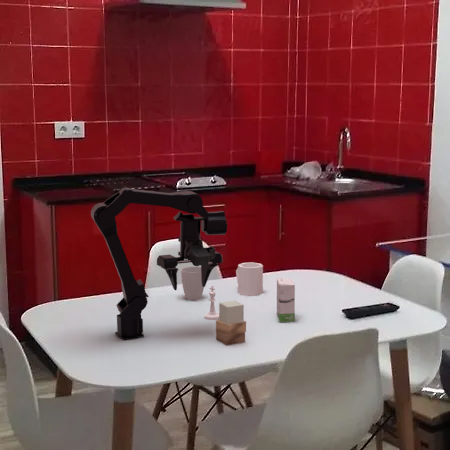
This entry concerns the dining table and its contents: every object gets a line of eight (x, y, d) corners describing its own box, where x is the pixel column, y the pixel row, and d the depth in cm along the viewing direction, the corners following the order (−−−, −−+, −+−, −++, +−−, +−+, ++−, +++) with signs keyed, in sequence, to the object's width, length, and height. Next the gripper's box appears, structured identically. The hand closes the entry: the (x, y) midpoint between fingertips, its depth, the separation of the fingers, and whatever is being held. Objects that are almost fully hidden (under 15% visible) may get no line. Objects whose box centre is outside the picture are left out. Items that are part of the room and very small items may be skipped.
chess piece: (211, 314, 238) (211, 283, 237) (223, 317, 235) (223, 285, 233) (201, 317, 235) (201, 286, 233) (213, 320, 232) (213, 289, 230)
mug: (267, 293, 262) (267, 265, 260) (247, 297, 257) (247, 269, 255) (246, 286, 272) (247, 259, 270) (227, 289, 267) (227, 262, 265)
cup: (210, 297, 257) (210, 268, 256) (196, 303, 251) (196, 273, 249) (190, 293, 262) (190, 265, 260) (176, 299, 255) (176, 270, 253)
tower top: (229, 336, 209) (229, 325, 208) (215, 330, 213) (215, 320, 213) (246, 331, 213) (246, 321, 212) (232, 326, 217) (232, 316, 217)
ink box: (295, 322, 230) (295, 284, 228) (278, 322, 230) (279, 284, 228) (291, 313, 238) (292, 277, 236) (275, 314, 238) (276, 277, 236)
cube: (227, 324, 209) (227, 307, 208) (219, 320, 213) (219, 302, 213) (243, 322, 211) (243, 304, 210) (234, 317, 216) (234, 300, 215)
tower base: (226, 346, 210) (226, 336, 209) (216, 340, 215) (215, 330, 214) (245, 342, 212) (245, 332, 212) (234, 336, 218) (234, 326, 217)
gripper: (173, 243, 207) (172, 298, 209) (232, 238, 216) (231, 291, 218) (156, 236, 216) (155, 289, 219) (213, 231, 225) (212, 282, 228)
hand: (189, 288), depth 221 cm, fingers open, 9 cm apart
